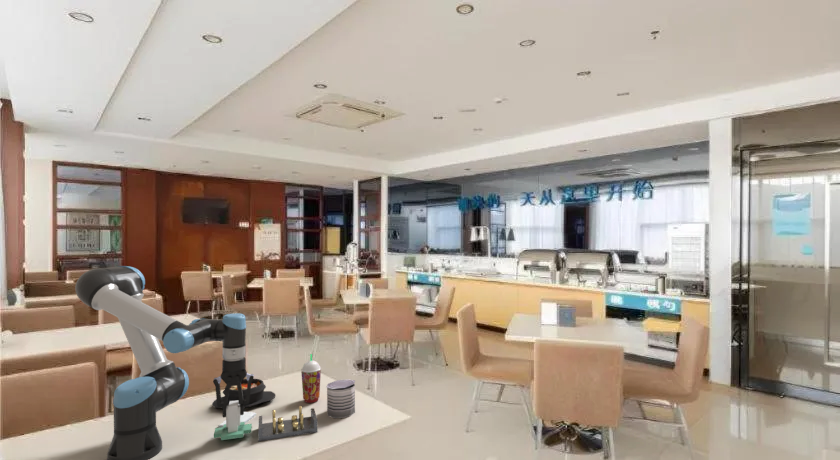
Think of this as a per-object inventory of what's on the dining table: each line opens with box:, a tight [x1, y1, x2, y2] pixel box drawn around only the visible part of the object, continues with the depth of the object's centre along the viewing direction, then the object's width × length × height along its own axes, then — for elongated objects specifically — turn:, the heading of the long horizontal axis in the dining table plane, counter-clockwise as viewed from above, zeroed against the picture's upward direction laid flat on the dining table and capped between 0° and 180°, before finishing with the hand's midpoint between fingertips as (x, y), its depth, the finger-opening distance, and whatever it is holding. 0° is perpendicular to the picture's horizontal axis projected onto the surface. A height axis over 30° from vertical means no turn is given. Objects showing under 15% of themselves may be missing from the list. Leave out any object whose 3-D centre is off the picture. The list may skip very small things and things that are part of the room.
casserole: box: [211, 378, 276, 409], centre depth 184 cm, size 25×19×8 cm
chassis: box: [258, 405, 318, 442], centre depth 158 cm, size 20×11×6 cm, turn 110°
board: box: [213, 400, 253, 441], centre depth 152 cm, size 12×10×10 cm
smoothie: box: [300, 353, 322, 404], centre depth 186 cm, size 8×8×20 cm
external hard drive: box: [217, 411, 257, 428], centre depth 166 cm, size 2×8×12 cm
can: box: [326, 378, 356, 419], centre depth 174 cm, size 11×11×12 cm
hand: (233, 424), depth 152 cm, fingers closed on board, 3 cm apart
